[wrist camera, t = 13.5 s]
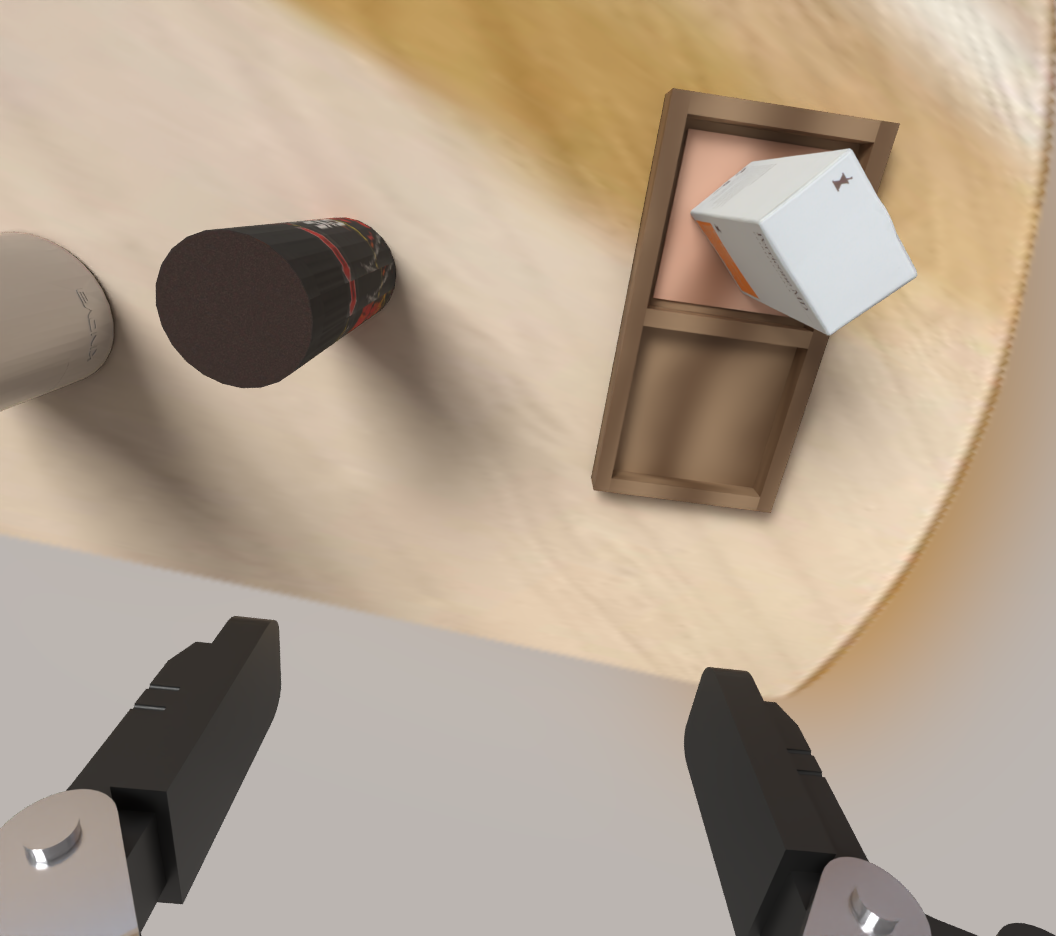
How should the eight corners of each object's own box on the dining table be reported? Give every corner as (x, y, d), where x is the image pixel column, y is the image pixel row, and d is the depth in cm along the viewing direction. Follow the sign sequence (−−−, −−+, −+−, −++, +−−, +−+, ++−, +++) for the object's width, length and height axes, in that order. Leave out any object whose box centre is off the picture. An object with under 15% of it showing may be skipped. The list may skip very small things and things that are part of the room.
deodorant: (381, 209, 36) (283, 215, 22) (406, 311, 38) (332, 375, 24) (284, 227, 36) (129, 244, 22) (314, 327, 38) (191, 398, 25)
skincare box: (685, 212, 35) (754, 219, 24) (751, 159, 34) (854, 140, 23) (741, 298, 37) (829, 340, 26) (805, 250, 36) (925, 273, 25)
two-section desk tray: (591, 477, 42) (593, 490, 40) (665, 94, 33) (672, 88, 31) (760, 499, 43) (770, 512, 41) (880, 127, 34) (899, 123, 32)
